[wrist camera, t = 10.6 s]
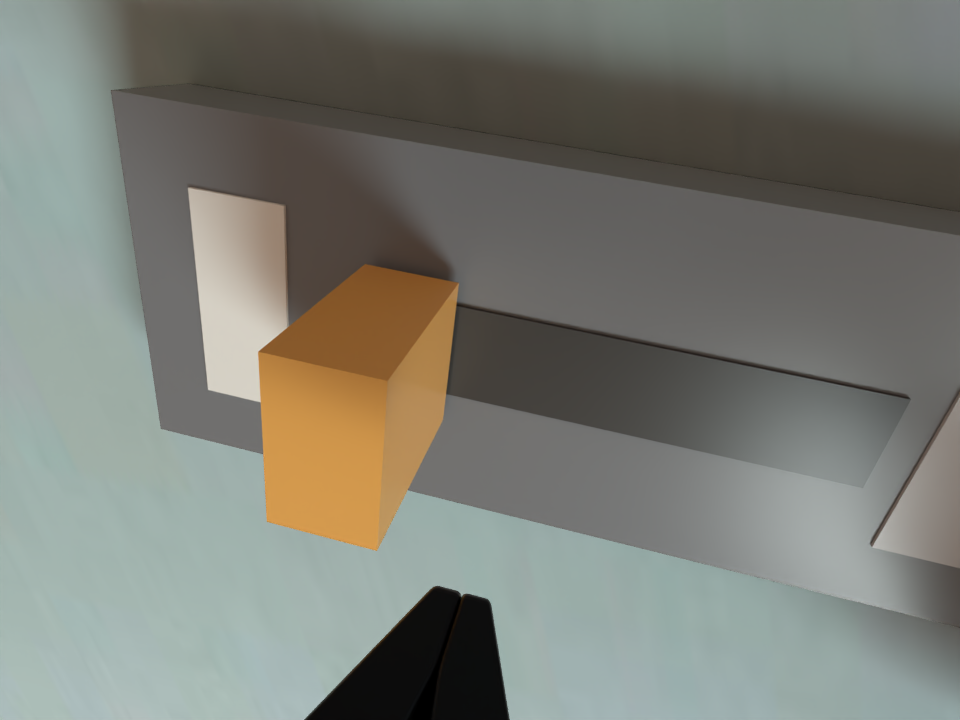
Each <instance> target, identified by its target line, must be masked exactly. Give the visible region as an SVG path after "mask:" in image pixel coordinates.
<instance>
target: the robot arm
mask: <svg viewBox="0 0 960 720" xmlns="http://www.w3.org/2000/svg"><path fill="white" fill-rule="evenodd" d="M304 720H510V719H509V713H508V707H507V701H506V694H505V688H504V682H503V676H502V669H501V663H500V657H499V651H498V644H497V638H496V632H495V626H494V619H493V613H492V607H491V603H490V601H489V600H488V599H486V598H482V597H478V596H474V595H471V594H464V595H463V596H462V597H461V594H460V593H459V592H458V591H456V590H452V589H448V588H444V587H440V586H435V587H433V588H432V589H430V590H429V591H428V592H427V593H426V594H425V595H424V596H423V597H422V599H421V600H420V601H419V602H418V603H417V604H416V605H415V606H414V607H413V608H412V609H411V610H410V611H409V612H408V613H407V614H406V615H405V616H404V617H403V618H402V619H401V620H400V621H399V622H398V623H397V624H396V625H395V626H394V627H393V628H392V630H391V631H390V632H389V633H388V634H387V635H386V636H385V637H384V638H383V639H382V640H381V641H380V642H379V643H378V644H377V645H376V646H375V647H374V648H373V649H372V650H371V651H370V652H369V653H368V654H367V655H366V656H365V657H364V658H363V660H362V661H361V662H360V663H359V664H358V665H357V666H356V667H355V668H354V669H353V670H352V671H351V672H350V673H349V674H348V675H347V676H346V677H345V678H344V679H343V680H342V681H341V682H340V683H339V684H338V685H337V686H336V687H335V688H334V689H333V691H332V692H331V693H330V694H329V695H328V696H327V697H326V698H325V699H324V700H323V701H322V702H321V703H320V704H319V705H318V706H317V707H316V708H315V709H314V710H313V711H312V712H311V713H310V714H309V715H308V716H307V717H306V718H305V719H304Z"/></svg>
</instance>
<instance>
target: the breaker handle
mask: <svg viewBox="0 0 960 720" xmlns="http://www.w3.org/2000/svg"><path fill="white" fill-rule="evenodd" d="M458 287H459V283H457V282H452V281H447V280H442V279H437V278H432V277H427V276H422V275H417V274H412V273H407V272H402V271H397V270H392V269H387V268H382V267H377V266H372V265H367V264H365V265H363V266H362V267H361V268H360V269H358V270H357V271H356V272H355V273H354V274H352V275H351V276H350V277H349V278H347V279H346V280H345V281H344V282H343V283H341V284H340V285H339V286H338V287H336V288H335V289H334V290H333V291H332V292H330V293H329V294H328V295H327V296H325V297H324V298H323V299H322V300H321V301H319V302H318V303H317V304H316V305H314V306H313V307H312V308H311V309H310V310H308V311H307V312H306V313H305V314H303V315H302V316H301V317H300V318H299V319H297V320H296V321H295V322H294V323H292V324H291V325H290V326H289V327H288V328H286V329H285V330H284V331H283V332H281V333H280V334H279V335H278V336H277V337H275V338H274V339H273V340H272V341H270V342H269V343H268V344H267V345H266V346H264V347H263V348H262V349H261V350H259V351H258V361H259V380H260V399H261V418H262V437H263V456H264V475H265V494H266V513H267V522H270V523H274V524H278V525H281V526H285V527H289V528H293V529H296V530H300V531H304V532H308V533H312V534H315V535H319V536H323V537H327V538H330V539H334V540H338V541H342V542H346V543H349V544H353V545H357V546H361V547H365V548H368V549H372V550H376V551H377V550H378V548H379V546H380V544H381V542H382V540H383V538H384V536H385V534H386V532H387V530H388V528H389V526H390V524H391V522H392V520H393V518H394V516H395V514H396V512H397V510H398V508H399V506H400V504H401V502H402V500H403V498H404V496H405V494H406V492H407V490H408V488H409V486H410V484H411V482H412V480H413V478H414V476H415V474H416V472H417V470H418V468H419V466H420V464H421V463H422V461H423V459H424V457H425V455H426V453H427V451H428V449H429V447H430V445H431V443H432V441H433V439H434V437H435V435H436V433H437V431H438V429H439V427H440V425H441V423H442V421H443V416H444V407H445V399H446V390H447V381H448V373H449V364H450V356H451V347H452V338H453V330H454V321H455V313H456V304H457V295H458Z"/></svg>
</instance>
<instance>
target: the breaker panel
mask: <svg viewBox="0 0 960 720" xmlns="http://www.w3.org/2000/svg"><path fill="white" fill-rule="evenodd" d="M111 94H112V101H113V108H114V115H115V121H116V128H117V135H118V142H119V148H120V155H121V162H122V169H123V175H124V182H125V189H126V196H127V202H128V209H129V216H130V223H131V229H132V236H133V243H134V250H135V257H136V263H137V270H138V277H139V284H140V290H141V297H142V304H143V311H144V317H145V324H146V331H147V338H148V344H149V351H150V358H151V365H152V371H153V378H154V385H155V392H156V399H157V405H158V412H159V419H160V426H161V429H164V430H168V431H172V432H176V433H180V434H184V435H188V436H192V437H196V438H200V439H204V440H208V441H212V442H216V443H220V444H224V445H228V446H232V447H237V448H241V449H245V450H249V451H253V452H257V453H261V454H263V437H262V418H261V399H260V380H259V361H258V351H259V350H261V349H262V348H263V347H264V346H266V345H267V344H268V343H269V342H270V341H272V340H273V339H274V338H275V337H277V336H278V335H279V334H280V333H281V332H283V331H284V330H285V329H286V328H288V327H289V326H290V325H291V324H292V323H294V322H295V321H296V320H297V319H299V318H300V317H301V316H302V315H303V314H305V313H306V312H307V311H308V310H310V309H311V308H312V307H313V306H314V305H316V304H317V303H318V302H319V301H321V300H322V299H323V298H324V297H325V296H327V295H328V294H329V293H330V292H332V291H333V290H334V289H335V288H336V287H338V286H339V285H340V284H341V283H343V282H344V281H345V280H346V279H347V278H349V277H350V276H351V275H352V274H354V273H355V272H356V271H357V270H358V269H360V268H361V267H362V266H363V265H365V264H367V265H372V266H377V267H382V268H387V269H392V270H397V271H402V272H407V273H412V274H417V275H422V276H427V277H432V278H437V279H442V280H447V281H452V282H457V283H459V287H458V295H457V304H456V313H455V321H454V330H453V338H452V347H451V356H450V364H449V373H448V381H447V390H446V399H445V407H444V416H443V421H442V423H441V425H440V427H439V429H438V431H437V433H436V435H435V437H434V439H433V441H432V443H431V445H430V447H429V449H428V451H427V453H426V455H425V457H424V459H423V461H422V463H421V464H420V466H419V468H418V470H417V472H416V474H415V476H414V478H413V480H412V482H411V484H410V486H409V488H408V490H409V491H413V492H417V493H421V494H425V495H429V496H433V497H437V498H441V499H445V500H449V501H453V502H457V503H461V504H465V505H469V506H473V507H477V508H481V509H485V510H489V511H493V512H497V513H501V514H505V515H509V516H514V517H518V518H522V519H526V520H530V521H534V522H538V523H542V524H546V525H550V526H554V527H558V528H562V529H566V530H570V531H574V532H578V533H582V534H586V535H590V536H594V537H598V538H602V539H606V540H610V541H614V542H618V543H622V544H626V545H630V546H634V547H638V548H642V549H646V550H650V551H654V552H658V553H662V554H666V555H670V556H674V557H678V558H682V559H686V560H690V561H694V562H698V563H702V564H706V565H710V566H714V567H718V568H722V569H726V570H730V571H734V572H738V573H742V574H746V575H750V576H754V577H758V578H762V579H766V580H770V581H774V582H778V583H782V584H786V585H791V586H795V587H799V588H803V589H807V590H811V591H815V592H819V593H823V594H827V595H831V596H835V597H839V598H843V599H847V600H851V601H855V602H859V603H863V604H867V605H871V606H875V607H879V608H883V609H887V610H891V611H895V612H899V613H903V614H907V615H911V616H915V617H919V618H923V619H927V620H931V621H935V622H939V623H943V624H947V625H951V626H955V627H959V628H960V212H956V211H950V210H944V209H938V208H932V207H926V206H920V205H914V204H908V203H902V202H896V201H890V200H884V199H878V198H872V197H866V196H860V195H854V194H848V193H842V192H836V191H830V190H824V189H818V188H812V187H806V186H800V185H794V184H788V183H782V182H776V181H770V180H764V179H758V178H752V177H746V176H740V175H734V174H728V173H722V172H716V171H710V170H704V169H698V168H692V167H686V166H680V165H674V164H668V163H662V162H656V161H650V160H644V159H638V158H632V157H626V156H620V155H614V154H608V153H602V152H596V151H590V150H584V149H578V148H572V147H566V146H560V145H554V144H548V143H542V142H536V141H530V140H524V139H518V138H512V137H506V136H500V135H494V134H488V133H482V132H476V131H470V130H464V129H458V128H452V127H446V126H440V125H434V124H428V123H422V122H416V121H410V120H404V119H398V118H392V117H386V116H380V115H374V114H368V113H362V112H356V111H350V110H344V109H338V108H332V107H326V106H320V105H314V104H308V103H302V102H296V101H290V100H284V99H278V98H272V97H266V96H260V95H254V94H248V93H242V92H236V91H230V90H224V89H218V88H212V87H206V86H200V85H194V84H178V85H166V86H155V87H143V88H131V89H119V90H111Z"/></svg>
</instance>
